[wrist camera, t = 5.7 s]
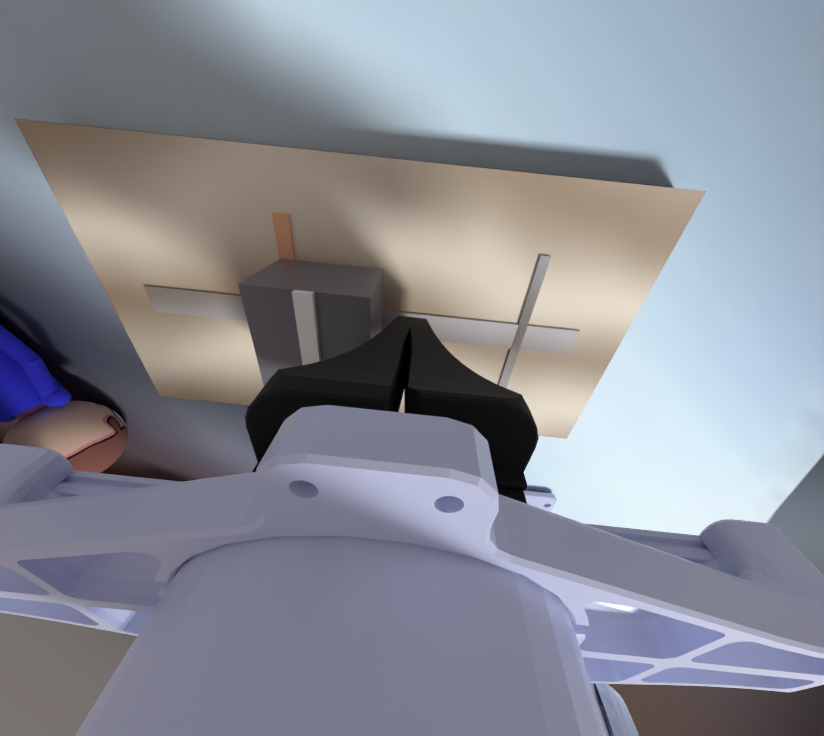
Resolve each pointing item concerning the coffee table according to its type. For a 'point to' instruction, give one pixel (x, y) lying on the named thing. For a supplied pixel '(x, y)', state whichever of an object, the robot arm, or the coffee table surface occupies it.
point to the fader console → (361, 253)
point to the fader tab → (310, 311)
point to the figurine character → (54, 412)
